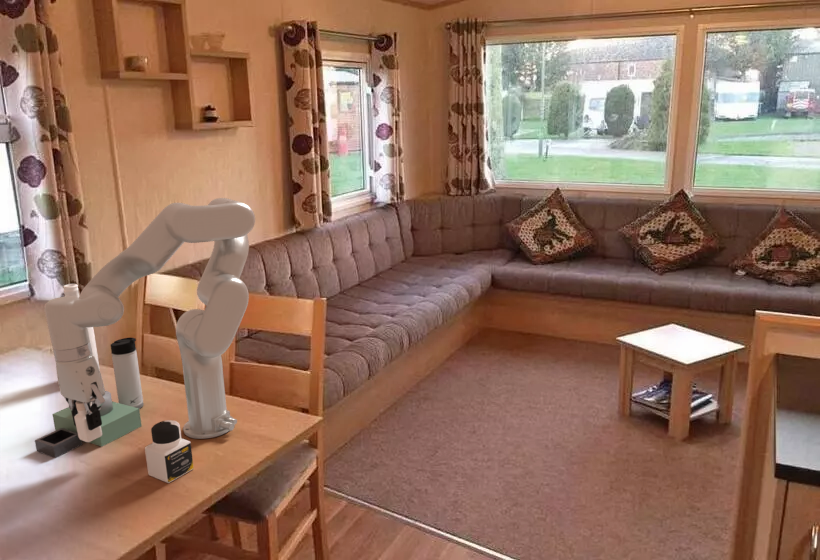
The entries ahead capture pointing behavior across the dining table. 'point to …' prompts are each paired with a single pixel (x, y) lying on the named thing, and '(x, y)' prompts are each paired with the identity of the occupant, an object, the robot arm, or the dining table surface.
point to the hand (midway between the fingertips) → (88, 424)
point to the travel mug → (127, 372)
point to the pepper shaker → (85, 424)
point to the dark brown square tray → (58, 442)
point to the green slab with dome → (105, 420)
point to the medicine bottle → (168, 452)
